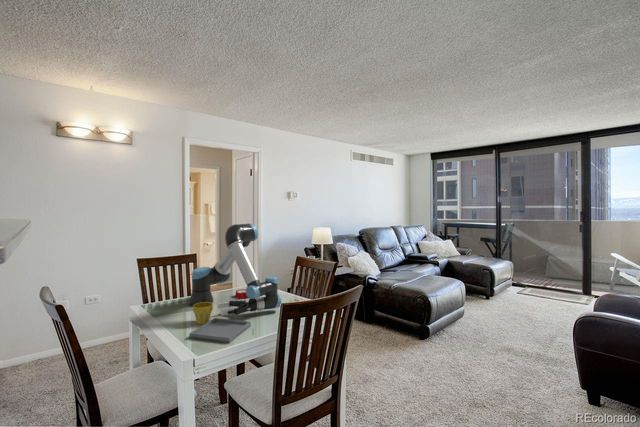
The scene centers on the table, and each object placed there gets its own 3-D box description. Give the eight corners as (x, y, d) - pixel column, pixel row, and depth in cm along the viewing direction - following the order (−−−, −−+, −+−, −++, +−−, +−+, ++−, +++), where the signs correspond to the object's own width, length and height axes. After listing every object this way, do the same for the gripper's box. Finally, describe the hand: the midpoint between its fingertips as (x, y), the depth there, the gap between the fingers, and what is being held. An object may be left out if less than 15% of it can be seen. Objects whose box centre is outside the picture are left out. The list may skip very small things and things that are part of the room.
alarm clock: (247, 288, 236) (252, 288, 223) (248, 297, 235) (252, 298, 222) (233, 290, 232) (237, 290, 219) (233, 298, 231) (237, 299, 217)
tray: (214, 322, 177) (214, 317, 177) (250, 326, 172) (250, 321, 172) (189, 338, 156) (189, 333, 156) (229, 343, 150) (229, 338, 150)
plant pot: (206, 326, 172) (206, 308, 172) (189, 324, 174) (189, 306, 174) (216, 319, 182) (216, 302, 182) (199, 318, 184) (199, 301, 184)
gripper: (261, 317, 180) (223, 323, 170) (251, 304, 202) (216, 309, 193) (261, 304, 179) (223, 309, 170) (251, 293, 202) (216, 297, 193)
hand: (219, 309), depth 182 cm, fingers open, 13 cm apart
